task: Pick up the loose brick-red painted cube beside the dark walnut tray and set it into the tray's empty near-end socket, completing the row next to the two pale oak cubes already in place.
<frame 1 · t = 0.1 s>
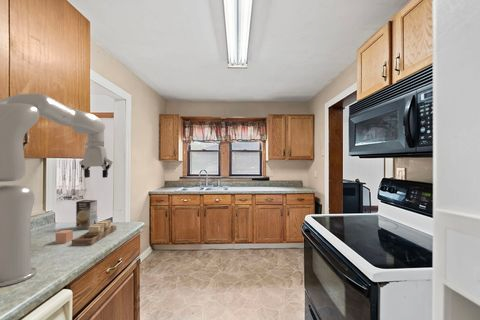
hand: (96, 177, 127), 31 cm above the counter, tool pointing down, fingers open, 9 cm apart
coffee box: (86, 228, 144), on the counter
walnut tray: (96, 236, 126), on the counter
brick cube: (64, 241, 119), on the counter
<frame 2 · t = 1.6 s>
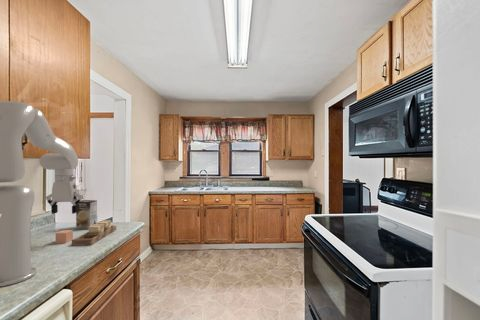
hand: (64, 213, 120), 14 cm above the counter, tool pointing down, fingers open, 9 cm apart
nothing on the counter moved.
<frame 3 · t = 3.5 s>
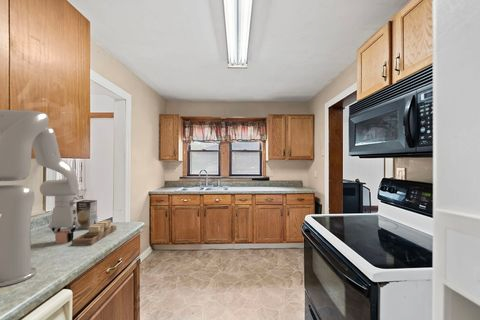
hand: (64, 240, 119), 1 cm above the counter, tool pointing down, fingers closed on brick cube, 5 cm apart
brick cube: (64, 241, 119), on the counter, touching gripper
everything else where it was.
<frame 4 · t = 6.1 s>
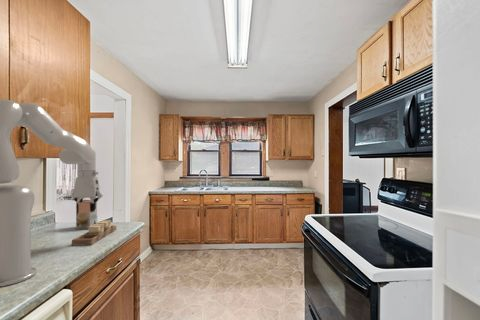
hand: (86, 210, 118), 15 cm above the counter, tool pointing down, fingers closed on brick cube, 4 cm apart
brick cube: (86, 212, 118), point 15 cm above the counter, touching gripper
everything else where it was.
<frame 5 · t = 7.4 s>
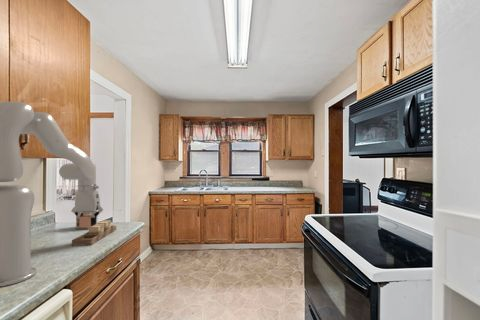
hand: (87, 224, 118), 8 cm above the counter, tool pointing down, fingers closed on brick cube, 4 cm apart
brick cube: (87, 225, 119), point 8 cm above the counter, touching gripper
everything else where it was.
when the fingers open (3 cm above the counter, at t = 8.8 s): brick cube drops 1 cm, resting on walnut tray.
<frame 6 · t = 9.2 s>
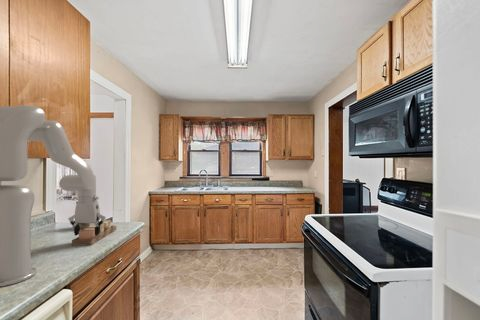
hand: (87, 234, 118), 4 cm above the counter, tool pointing down, fingers open, 9 cm apart
brick cube: (87, 240, 118), point 1 cm above the counter, touching walnut tray
everything else where it was.
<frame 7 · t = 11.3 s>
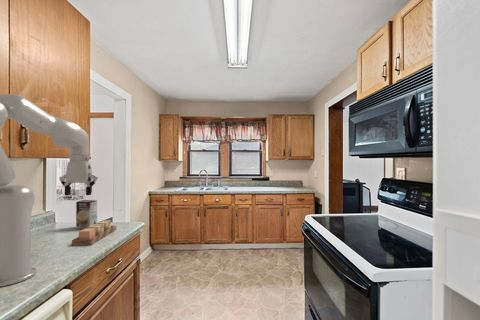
hand: (78, 195, 114), 24 cm above the counter, tool pointing down, fingers open, 9 cm apart
nothing on the counter moved.
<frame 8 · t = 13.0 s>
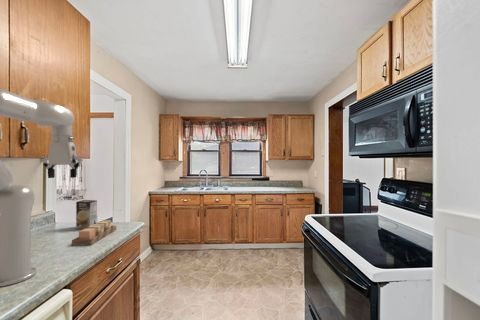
hand: (62, 177, 109), 32 cm above the counter, tool pointing down, fingers open, 9 cm apart
nothing on the counter moved.
at the end: brick cube 0.1 cm from the target spot on the walnut tray, point 1.0 cm above the walnut tray's base; brick cube tilted 0°; the gripper is holding nothing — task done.
